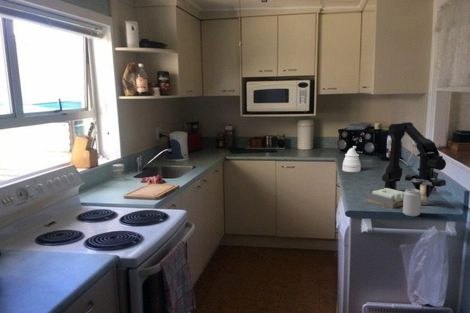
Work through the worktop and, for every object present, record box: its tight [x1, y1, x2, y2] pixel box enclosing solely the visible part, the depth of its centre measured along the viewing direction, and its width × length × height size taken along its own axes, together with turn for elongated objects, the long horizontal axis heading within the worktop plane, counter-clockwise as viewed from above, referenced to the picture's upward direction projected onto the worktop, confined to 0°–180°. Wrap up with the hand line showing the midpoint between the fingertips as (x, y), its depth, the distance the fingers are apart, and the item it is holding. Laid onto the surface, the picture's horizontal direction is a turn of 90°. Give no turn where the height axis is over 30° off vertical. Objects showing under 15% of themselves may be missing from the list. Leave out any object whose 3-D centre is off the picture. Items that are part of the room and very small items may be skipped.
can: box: [402, 188, 422, 218], centre depth 177 cm, size 8×8×12 cm
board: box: [365, 192, 403, 209], centre depth 199 cm, size 20×16×4 cm
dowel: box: [420, 183, 429, 206], centre depth 192 cm, size 4×4×10 cm
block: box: [371, 187, 405, 202], centre depth 198 cm, size 12×12×4 cm
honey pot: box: [341, 145, 362, 173], centre depth 279 cm, size 13×13×18 cm
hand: (423, 196), depth 192 cm, fingers closed on dowel, 4 cm apart
